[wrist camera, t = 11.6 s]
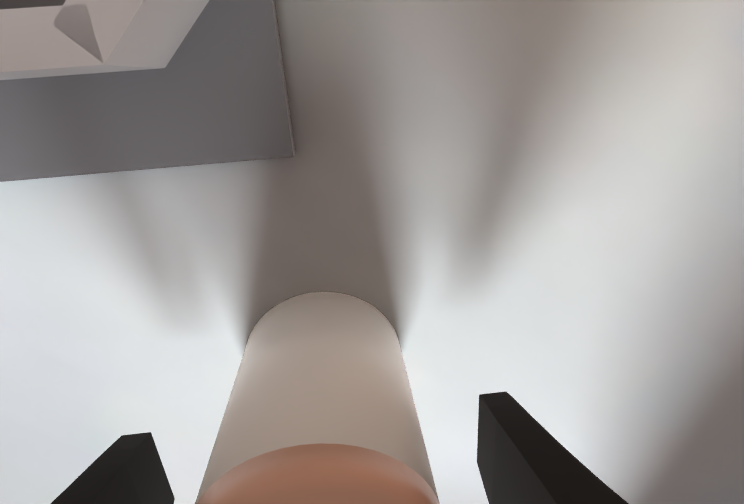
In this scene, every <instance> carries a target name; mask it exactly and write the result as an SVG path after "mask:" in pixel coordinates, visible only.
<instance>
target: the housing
mask: <svg viewBox="0 0 744 504" xmlns="http://www.w3.org/2000/svg"><path fill="white" fill-rule="evenodd" d="M294 155H295V147H294V139H293V132H292V125H291V118H290V111H289V103H288V96H287V89H286V82H285V75H284V67H283V60H282V53H281V46H280V38H279V31H278V24H277V17H276V10H275V2H274V0H0V182H3V181H14V180H26V179H38V178H49V177H61V176H73V175H84V174H96V173H108V172H119V171H131V170H143V169H154V168H166V167H178V166H189V165H201V164H213V163H224V162H236V161H248V160H259V159H271V158H283V157H294Z"/></svg>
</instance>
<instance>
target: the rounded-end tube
mask: <svg viewBox="0 0 744 504" xmlns="http://www.w3.org/2000/svg"><path fill="white" fill-rule="evenodd" d="M195 504H439V500H438V496H437V492H436V488H435V484H434V480H433V476H432V472H431V468H430V464H429V460H428V456H427V452H426V448H425V444H424V440H423V436H422V432H421V428H420V424H419V420H418V416H417V412H416V408H415V404H414V400H413V396H412V392H411V388H410V384H409V380H408V376H407V372H406V368H405V364H404V360H403V356H402V352H401V348H400V344H399V340H398V337H397V334H396V332H395V330H394V328H393V326H392V325H391V323H390V322H389V320H388V319H387V318H386V317H385V316H384V315H383V314H382V313H381V312H380V311H379V310H378V309H376V308H375V307H374V306H372V305H371V304H369V303H367V302H366V301H363V300H361V299H359V298H357V297H354V296H351V295H347V294H342V293H337V292H312V293H306V294H302V295H298V296H295V297H292V298H290V299H287V300H285V301H283V302H281V303H279V304H278V305H276V306H274V307H273V308H272V309H270V310H269V311H268V312H267V313H266V314H265V315H264V316H263V317H262V318H261V319H260V320H259V321H258V322H257V324H256V325H255V327H254V328H253V330H252V332H251V334H250V336H249V339H248V342H247V345H246V348H245V351H244V354H243V357H242V360H241V363H240V367H239V370H238V373H237V376H236V379H235V382H234V385H233V388H232V391H231V394H230V397H229V401H228V404H227V407H226V410H225V413H224V416H223V419H222V422H221V425H220V428H219V431H218V434H217V438H216V441H215V444H214V447H213V450H212V453H211V456H210V459H209V462H208V465H207V468H206V472H205V475H204V478H203V481H202V484H201V487H200V490H199V493H198V496H197V499H196V502H195Z"/></svg>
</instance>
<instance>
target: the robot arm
mask: <svg viewBox="0 0 744 504" xmlns="http://www.w3.org/2000/svg"><path fill="white" fill-rule="evenodd" d="M477 464H478V467H479V471H480V474H481V478H482V481H483V485H484V488H485V491H486V495H487V498H488V501H489V504H628V503H627V502H626V501H625V500H624V499H622V498H621V497H620V496H619V495H618V494H616V493H615V492H614V491H613V490H612V489H610V488H609V487H608V486H607V485H606V484H605V483H603V482H602V481H601V480H600V479H599V478H598V477H596V476H595V475H594V474H593V473H592V472H591V471H590V470H589V469H588V468H586V467H585V466H584V465H583V464H582V463H581V462H580V461H579V460H578V459H576V458H575V457H574V456H573V455H572V454H571V453H570V452H569V451H568V450H566V449H565V448H564V447H563V446H562V445H561V444H560V443H559V442H558V441H557V440H556V439H555V438H554V437H553V436H552V435H551V434H549V433H548V432H547V431H546V430H545V429H544V428H543V427H542V426H541V425H540V424H539V423H538V422H537V421H536V420H535V419H534V418H533V417H532V416H531V415H530V414H529V413H528V412H527V411H526V410H525V409H524V408H523V407H522V406H521V405H520V404H519V403H518V402H517V401H516V400H515V399H514V398H513V397H512V396H511V395H509V394H508V393H507V392H499V393H490V394H481V395H479V419H478V448H477ZM174 499H175V498H174V496H173V493H172V490H171V487H170V485H169V482H168V479H167V476H166V473H165V471H164V468H163V465H162V462H161V459H160V457H159V454H158V451H157V448H156V446H155V443H154V440H153V437H152V434H151V432H149V433H140V434H132V435H123V436H121V437H120V438H119V439H118V440H117V441H115V442H114V443H113V444H112V445H111V446H110V447H109V448H108V449H107V450H106V451H105V452H104V453H103V454H102V455H101V456H100V457H98V458H97V459H96V460H95V461H94V462H93V463H92V464H91V465H90V466H89V467H88V468H87V469H86V470H85V471H84V472H83V473H82V474H81V475H80V476H79V477H78V478H77V479H76V480H75V481H74V482H73V483H72V484H71V485H70V486H69V487H68V488H67V489H66V490H65V491H63V492H62V493H61V494H60V495H59V496H58V497H57V498H56V499H55V500H54V501H53V502H52V503H51V504H174Z"/></svg>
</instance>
